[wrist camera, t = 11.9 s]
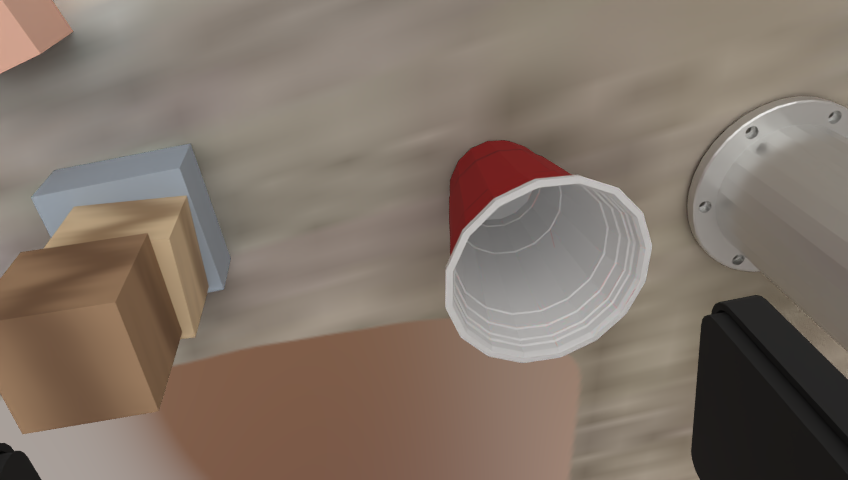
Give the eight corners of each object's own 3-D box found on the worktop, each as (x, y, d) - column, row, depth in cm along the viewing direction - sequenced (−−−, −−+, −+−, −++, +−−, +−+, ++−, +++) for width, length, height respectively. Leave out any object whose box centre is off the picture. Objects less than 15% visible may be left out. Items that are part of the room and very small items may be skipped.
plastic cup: (553, 262, 48) (619, 374, 37) (400, 247, 45) (424, 361, 35) (600, 112, 43) (691, 193, 32) (431, 87, 40) (470, 165, 30)
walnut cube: (147, 232, 33) (115, 302, 28) (182, 331, 36) (158, 411, 31) (20, 252, 33) (-37, 326, 28) (66, 350, 36) (22, 434, 30)
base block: (191, 141, 40) (179, 167, 37) (231, 255, 44) (223, 289, 41) (55, 168, 40) (30, 197, 37) (108, 281, 44) (90, 316, 41)
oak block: (186, 195, 38) (169, 238, 33) (208, 286, 41) (195, 337, 36) (73, 206, 37) (41, 252, 33) (104, 298, 40) (78, 350, 36)
